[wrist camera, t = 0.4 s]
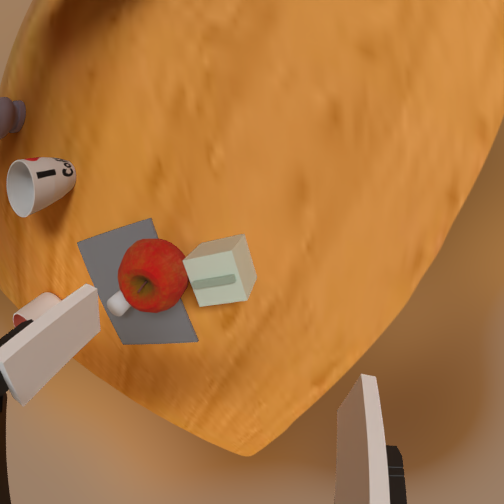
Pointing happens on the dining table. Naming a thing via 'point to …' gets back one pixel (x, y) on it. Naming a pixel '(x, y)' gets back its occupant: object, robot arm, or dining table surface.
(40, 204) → the cup
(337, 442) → the robot arm
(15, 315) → the cup
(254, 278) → the pale green block
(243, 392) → the dining table surface
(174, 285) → the apple
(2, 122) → the cat figurine
